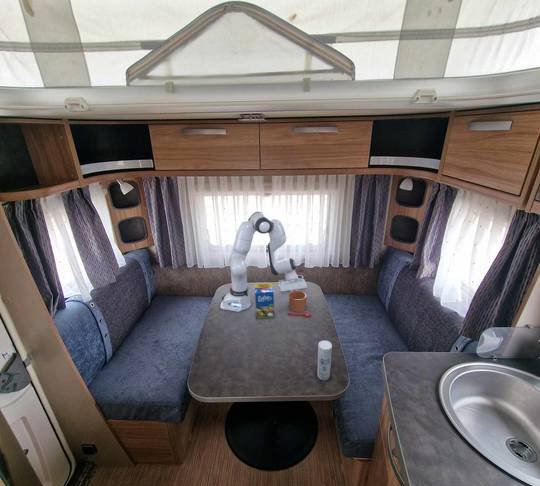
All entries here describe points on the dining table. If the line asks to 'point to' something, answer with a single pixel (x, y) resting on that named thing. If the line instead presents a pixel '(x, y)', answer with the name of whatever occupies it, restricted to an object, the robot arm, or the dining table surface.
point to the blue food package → (264, 300)
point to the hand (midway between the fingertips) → (295, 296)
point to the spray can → (324, 359)
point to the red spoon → (300, 314)
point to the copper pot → (297, 301)
